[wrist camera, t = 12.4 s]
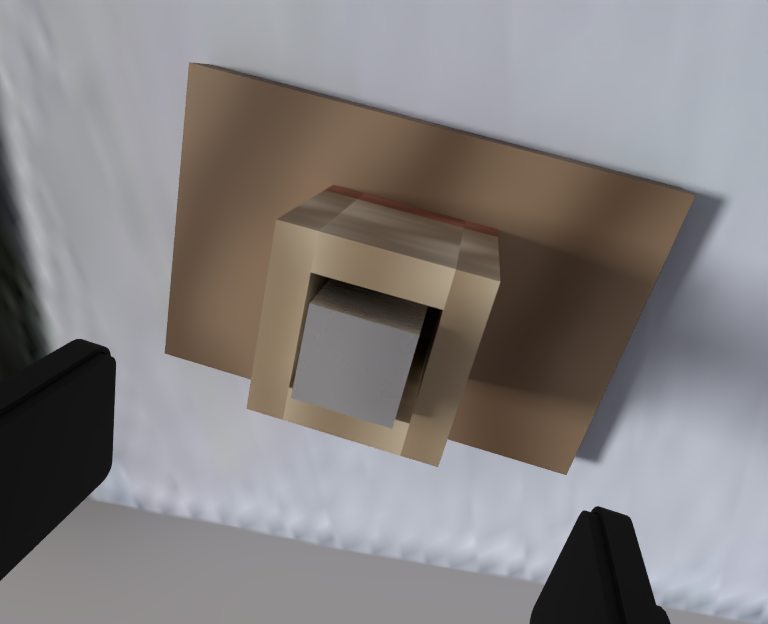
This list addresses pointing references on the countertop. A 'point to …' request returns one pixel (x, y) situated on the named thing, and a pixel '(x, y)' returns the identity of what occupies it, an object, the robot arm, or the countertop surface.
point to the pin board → (440, 195)
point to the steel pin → (357, 351)
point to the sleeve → (387, 275)
